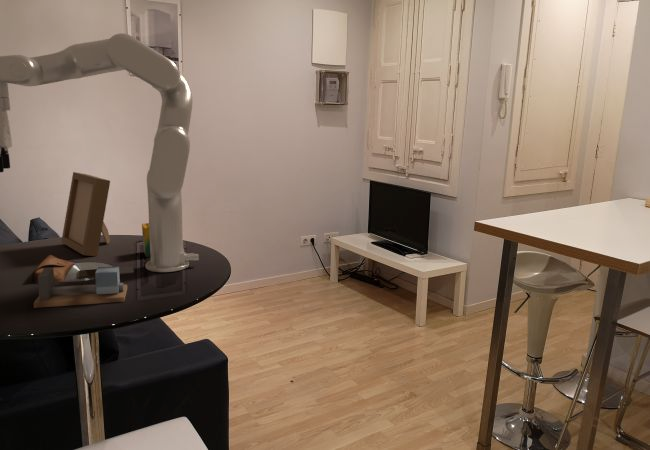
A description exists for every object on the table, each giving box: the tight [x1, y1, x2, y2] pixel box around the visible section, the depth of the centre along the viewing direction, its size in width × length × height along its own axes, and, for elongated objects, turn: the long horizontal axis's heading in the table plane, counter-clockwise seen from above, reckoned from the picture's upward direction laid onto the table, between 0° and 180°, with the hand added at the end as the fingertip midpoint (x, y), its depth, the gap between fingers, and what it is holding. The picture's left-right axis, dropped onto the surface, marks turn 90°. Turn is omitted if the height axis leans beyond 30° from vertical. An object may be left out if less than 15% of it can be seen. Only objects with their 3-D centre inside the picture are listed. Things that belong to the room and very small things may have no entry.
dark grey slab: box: [37, 268, 56, 301], centre depth 129 cm, size 2×7×6 cm, turn 16°
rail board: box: [33, 282, 128, 309], centre depth 132 cm, size 20×10×3 cm, turn 106°
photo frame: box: [60, 171, 111, 257], centre depth 177 cm, size 15×22×25 cm
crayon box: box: [141, 222, 151, 258], centre depth 172 cm, size 7×3×12 cm, turn 24°
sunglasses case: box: [30, 254, 76, 284], centre depth 151 cm, size 18×7×7 cm
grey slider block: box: [94, 265, 121, 294], centre depth 133 cm, size 5×5×6 cm
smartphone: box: [76, 266, 135, 280], centre depth 153 cm, size 7×1×15 cm
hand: (0, 170), depth 141 cm, fingers open, 9 cm apart
